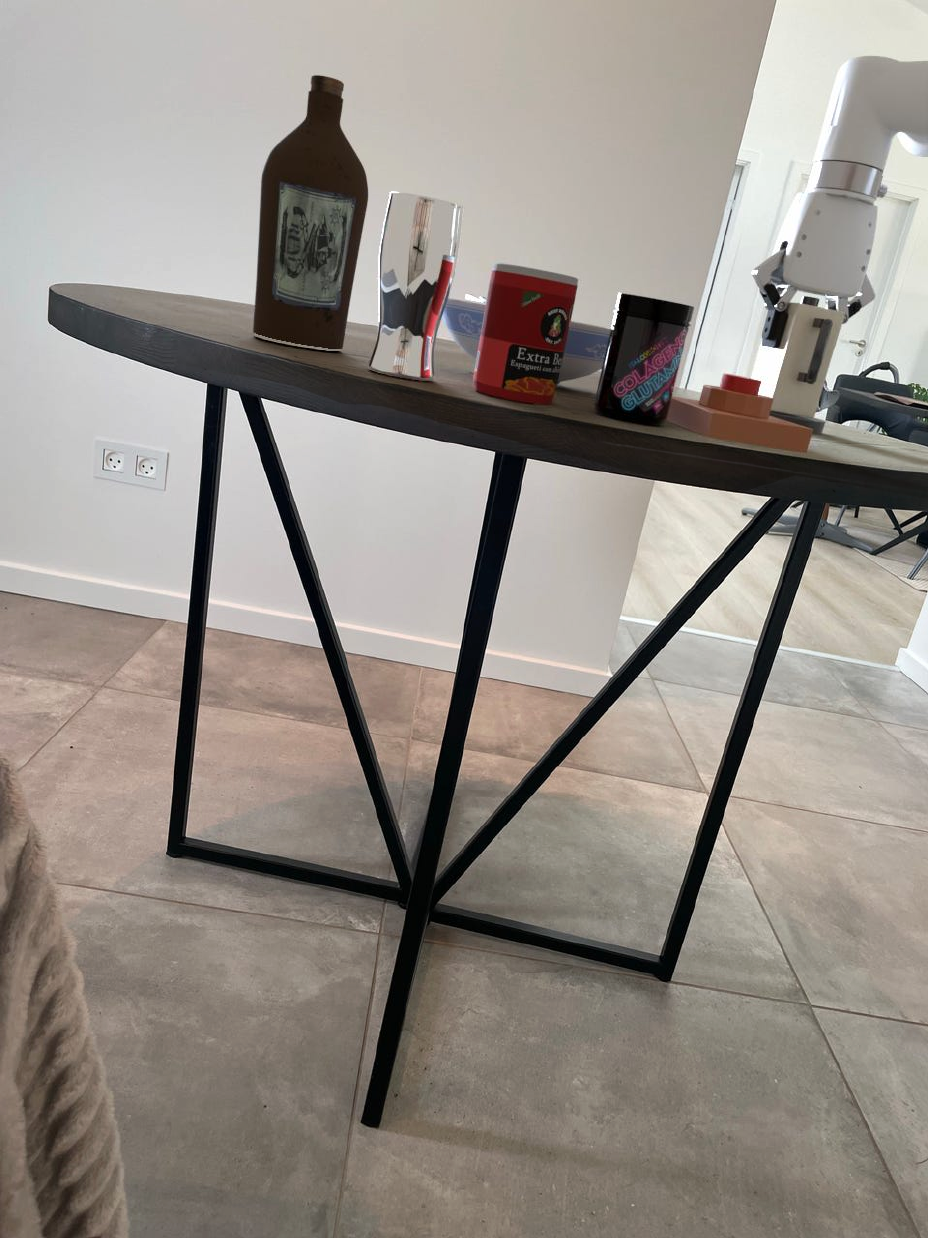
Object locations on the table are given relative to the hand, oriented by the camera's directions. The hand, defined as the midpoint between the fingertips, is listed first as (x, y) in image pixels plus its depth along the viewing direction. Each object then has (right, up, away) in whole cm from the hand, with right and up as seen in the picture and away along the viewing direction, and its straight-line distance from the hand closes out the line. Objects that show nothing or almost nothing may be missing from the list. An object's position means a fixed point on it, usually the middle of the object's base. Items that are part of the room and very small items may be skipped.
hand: (795, 350), depth 109 cm
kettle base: (-1, -8, +3) cm, 9 cm away
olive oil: (-57, -3, -11) cm, 58 cm away
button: (-13, -11, -22) cm, 27 cm away
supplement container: (-24, -14, -25) cm, 37 cm away
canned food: (-35, -11, -24) cm, 43 cm away
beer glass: (-45, -9, -23) cm, 51 cm away
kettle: (-1, -7, +2) cm, 7 cm away
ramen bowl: (-32, -4, -2) cm, 32 cm away
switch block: (-14, -14, -20) cm, 28 cm away
